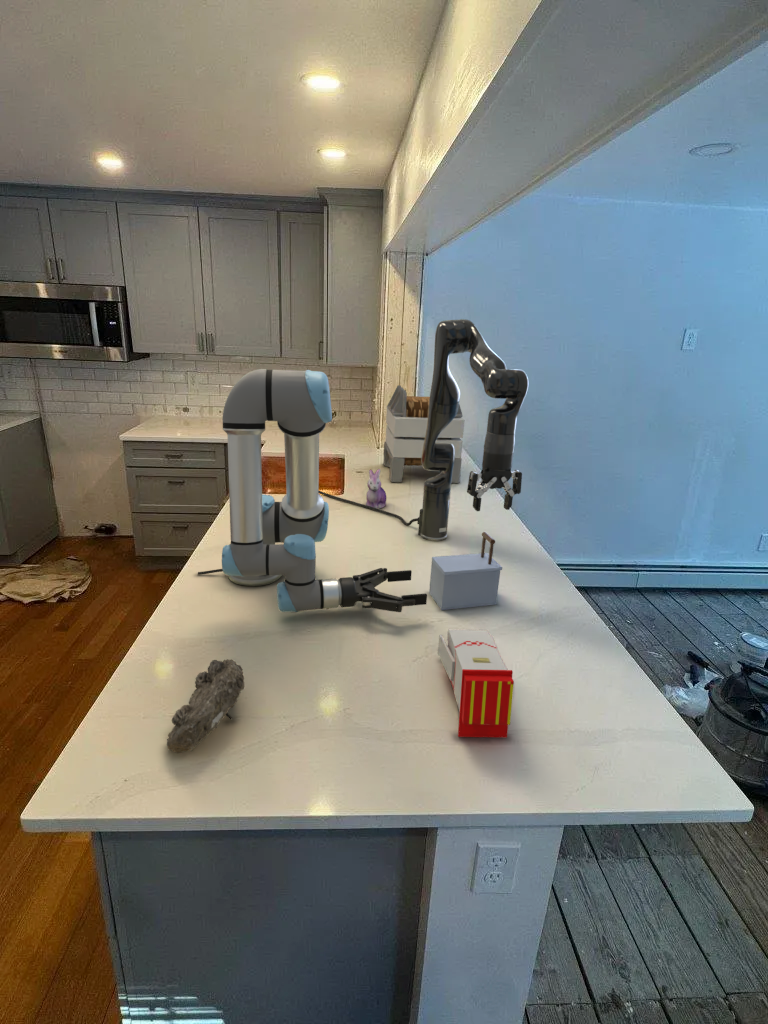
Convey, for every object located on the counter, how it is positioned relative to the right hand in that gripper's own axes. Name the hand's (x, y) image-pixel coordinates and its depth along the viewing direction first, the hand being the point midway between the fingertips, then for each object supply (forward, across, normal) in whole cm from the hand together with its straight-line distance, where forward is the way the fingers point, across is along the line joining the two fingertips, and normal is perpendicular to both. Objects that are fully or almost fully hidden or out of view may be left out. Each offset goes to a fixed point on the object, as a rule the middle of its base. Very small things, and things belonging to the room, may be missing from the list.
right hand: (491, 509), depth 150 cm
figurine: (+26, -10, +79) cm, 83 cm away
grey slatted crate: (+26, +23, +122) cm, 127 cm away
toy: (+26, -20, -38) cm, 50 cm away
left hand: (+20, -20, -2) cm, 28 cm away
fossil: (+26, -72, -35) cm, 84 cm away
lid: (+16, -6, 0) cm, 17 cm away
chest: (+26, -6, 0) cm, 27 cm away
